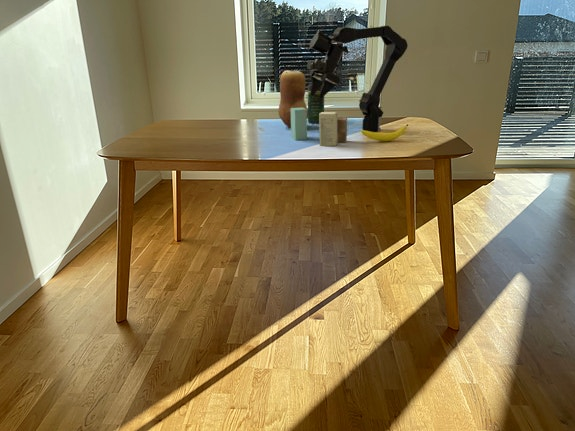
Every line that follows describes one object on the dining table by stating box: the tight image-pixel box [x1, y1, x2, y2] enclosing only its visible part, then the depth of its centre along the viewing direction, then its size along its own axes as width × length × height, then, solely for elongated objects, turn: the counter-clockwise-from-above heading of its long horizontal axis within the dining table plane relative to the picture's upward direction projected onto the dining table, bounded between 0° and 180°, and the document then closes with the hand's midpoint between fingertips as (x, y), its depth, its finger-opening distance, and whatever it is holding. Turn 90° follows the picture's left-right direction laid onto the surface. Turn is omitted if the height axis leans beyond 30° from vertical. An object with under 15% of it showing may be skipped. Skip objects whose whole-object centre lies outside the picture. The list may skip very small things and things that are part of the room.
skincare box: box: [318, 111, 338, 147], centre depth 160 cm, size 6×4×12 cm
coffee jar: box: [307, 83, 325, 124], centre depth 201 cm, size 10×8×19 cm
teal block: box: [290, 107, 308, 141], centre depth 171 cm, size 5×5×12 cm
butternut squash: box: [278, 69, 308, 129], centre depth 190 cm, size 14×13×25 cm
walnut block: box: [337, 117, 348, 144], centre depth 164 cm, size 4×4×9 cm
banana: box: [359, 124, 409, 142], centre depth 163 cm, size 3×19×6 cm, turn 96°
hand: (315, 96), depth 170 cm, fingers open, 9 cm apart
